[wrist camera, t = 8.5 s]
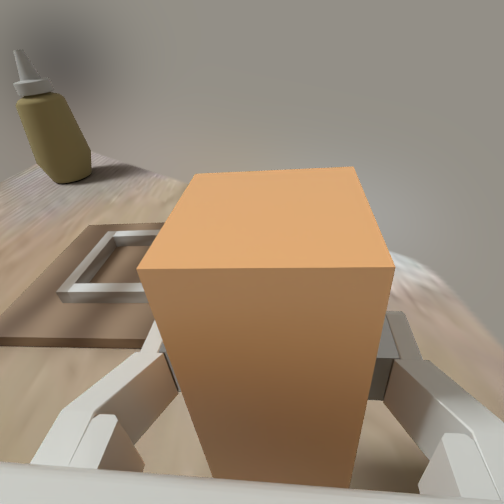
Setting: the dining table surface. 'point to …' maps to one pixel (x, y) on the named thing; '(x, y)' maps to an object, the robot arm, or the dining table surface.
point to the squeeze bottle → (50, 126)
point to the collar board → (87, 294)
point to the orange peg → (272, 318)
